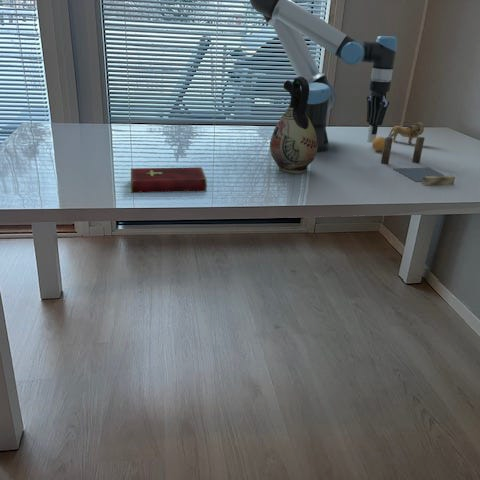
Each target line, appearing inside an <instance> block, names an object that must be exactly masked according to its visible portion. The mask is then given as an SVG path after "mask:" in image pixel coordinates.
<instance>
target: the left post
mask: <svg viewBox="0 0 480 480" xmlns="http://www.w3.org/2000/svg"><path fill="white" fill-rule="evenodd" d="M384 138H385V142H384V148H383V151H382V154H381V159H380V160H381V161H380V164H382V165H389V163H390V155H391V151H392V145H393V142H394V140H393V137H392V138H390V137H388V136H387V137H384Z"/></svg>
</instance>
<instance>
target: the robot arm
mask: <svg viewBox="0 0 480 480" xmlns="http://www.w3.org/2000/svg"><path fill="white" fill-rule="evenodd" d="M249 3H250V5H251V7H252V8H253V10H255V11H256V12H258V13H259V14H261V15H262V16H263V18H264V20H265V22H266V24H267V25H268V26H271V27H273V29H274V31H275V34H276V36H277V38H278V40H279V42H280V44H281V46H282V48H283V50H284V52H285V54H286V57H287V59H288V61H289V63H290V65H291V67H292V69H293V71H294V73H295V75H296V78H297V77H304V78H305V79H306V80H307V82H308V84H309V97H308V101H307V107H306V114H307V116H308V117H309V119H310V121H311V123H312V125H313V127H314V130H315V133H316V137H317V153H319V152H326V151H327V150H328V149H329V145H330V144H329V137H328V132H327V122H328V113H329V112H330V111H331V110H332V109H333V108H334V106H335V104H336V101H337V92H336V90H335V89H336V88H334V86H333V85H332V84H331V83H330V82H329V80H328V79H329V78H328V77H327V75H326V74H325V73H323V72H321V71H320V70H319V68H318V66H317V63H316V61H315V59H314V57H313V55H312V52H311V51H310V49H309V47H308V44H307V41H306V40H305V38H304V37H306V38H307V39H309V40H310V41H312V42H313V43H315V44H317V45H318V46H319V47H321V48H323V49H325V50H326V51H328V52H330V53H332V55H334V56H336V57H337V58H339V59H340V60H342V61H343V63H344V64H346V65H347V66H355V65H358V64H360V63H368V64H372V68H371V69H372V71H371V76H370V79H371V80H370V82H369V83H370V84H369V90H370V92H371V93H370V96H367V97H366V103H367V104H366V123H368V125H369V127H368V133H367V134H368V135H367V140H366V142H368V143H373V141H374V139H375V138H377V133H378V129H379V127H380V126H382V125H383V122H384V119H385V116H386V112H387V110H388V107H389V105H390V101H387V93H389V92H390V91H391V84H392V83H391V81H392V79H393V78H392V77H393V70H394V65H395V61H396V56H397V50H398V48H397V47H398V38H397V37H395V36H390V35H389V36H388V35H386V36H385V35H378V36H377V38H376V40H375V41H369V40H358V39H357V40H355V39H354V38H352V37H351V36H349V35H347V34H345V33H344V32H343V31H341V30H339V29H337V28H336V27H335V26H332V25H331V24H330V23H328V22H326V21H325V20H324V19H322V18H320V17H318V16H317V15H315V14H314V13H312V12H310V11H309V10H307V9H306V8H304V7H303V6H301V5H299V4H298V3H297V2H295V1H293V0H249Z"/></svg>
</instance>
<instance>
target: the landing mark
mask: <svg viewBox="0 0 480 480" xmlns="http://www.w3.org/2000/svg"><path fill="white" fill-rule="evenodd" d="M392 169H393V171H395V172H398V173H399V174H401V175H403V176H404V177H406V178H408V179H410V180H412V181H414V182H415V183H419V182H420V183H422V182H423V177H424V176H445V174H442V173H440V172H439V171H437V170H435V169H433V168H431V167H429V166H428V167H424V166H423V167H402V168H398V167H397V168H396V167H395V168H392Z"/></svg>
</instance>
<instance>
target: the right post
mask: <svg viewBox="0 0 480 480" xmlns="http://www.w3.org/2000/svg"><path fill="white" fill-rule="evenodd" d="M415 139H416V140H415V145H414V151H413V156H412V159H411V161H412V163H413V164H420V162H421V158H422V152H423V147H424V143H425V137H424V136H423V137H422V136H418V137H417V138H415Z"/></svg>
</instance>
